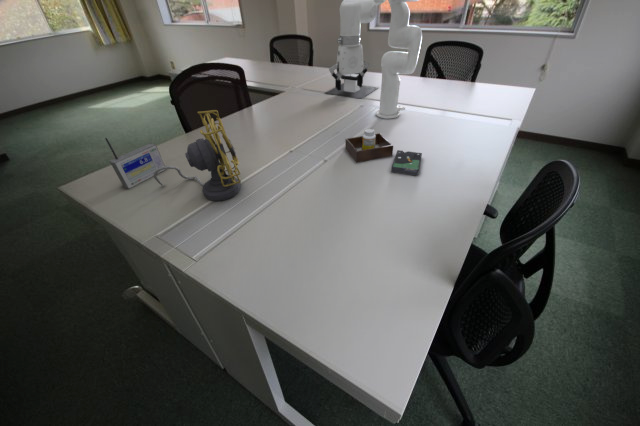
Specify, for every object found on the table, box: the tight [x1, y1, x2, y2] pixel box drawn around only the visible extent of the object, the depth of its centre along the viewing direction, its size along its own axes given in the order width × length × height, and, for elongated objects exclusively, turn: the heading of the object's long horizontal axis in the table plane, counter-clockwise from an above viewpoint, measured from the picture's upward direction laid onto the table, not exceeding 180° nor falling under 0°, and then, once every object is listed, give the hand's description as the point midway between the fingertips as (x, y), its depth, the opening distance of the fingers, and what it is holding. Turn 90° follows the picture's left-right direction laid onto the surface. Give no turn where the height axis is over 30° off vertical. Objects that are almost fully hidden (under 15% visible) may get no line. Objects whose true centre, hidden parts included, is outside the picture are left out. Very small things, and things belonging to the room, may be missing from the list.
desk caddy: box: [344, 132, 394, 164], centre depth 129 cm, size 17×14×5 cm
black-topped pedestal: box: [325, 73, 379, 100], centre depth 198 cm, size 28×26×13 cm
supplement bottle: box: [361, 128, 376, 150], centre depth 127 cm, size 6×6×10 cm
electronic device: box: [105, 137, 167, 190], centre depth 116 cm, size 17×7×20 cm, turn 148°
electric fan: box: [153, 109, 242, 202], centre depth 101 cm, size 26×32×30 cm
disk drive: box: [390, 149, 423, 176], centre depth 119 cm, size 10×3×15 cm
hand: (349, 88), depth 122 cm, fingers open, 9 cm apart
